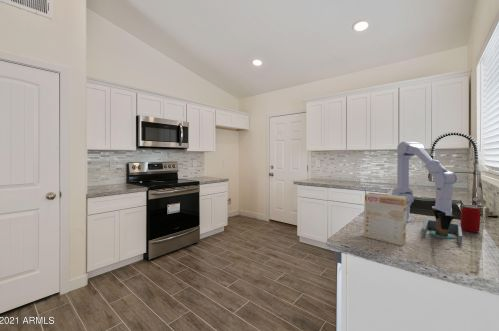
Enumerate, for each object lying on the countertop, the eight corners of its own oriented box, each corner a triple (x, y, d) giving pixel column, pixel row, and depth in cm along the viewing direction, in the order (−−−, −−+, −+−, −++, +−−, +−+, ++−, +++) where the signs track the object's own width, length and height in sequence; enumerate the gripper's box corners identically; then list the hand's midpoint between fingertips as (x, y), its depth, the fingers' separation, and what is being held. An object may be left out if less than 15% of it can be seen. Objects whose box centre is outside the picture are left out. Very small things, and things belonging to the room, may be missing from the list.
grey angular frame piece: (425, 227, 118) (426, 219, 118) (460, 232, 109) (460, 224, 109) (422, 237, 103) (422, 229, 103) (461, 245, 94) (462, 236, 94)
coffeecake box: (406, 241, 99) (407, 196, 97) (402, 246, 94) (404, 198, 92) (368, 232, 109) (369, 192, 108) (363, 236, 104) (364, 194, 103)
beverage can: (479, 230, 113) (480, 206, 112) (479, 234, 108) (481, 208, 107) (460, 227, 117) (461, 204, 116) (460, 230, 112) (461, 206, 112)
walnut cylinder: (434, 232, 109) (434, 217, 109) (446, 233, 107) (446, 218, 107) (437, 235, 105) (438, 220, 105) (449, 236, 103) (450, 221, 103)
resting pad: (430, 230, 112) (430, 230, 112) (454, 235, 107) (454, 234, 107) (428, 235, 106) (428, 234, 106) (455, 240, 100) (455, 239, 100)
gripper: (428, 194, 113) (427, 221, 114) (438, 200, 100) (436, 230, 101) (446, 195, 110) (445, 223, 111) (458, 201, 97) (457, 233, 98)
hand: (442, 227), depth 106 cm, fingers open, 6 cm apart
